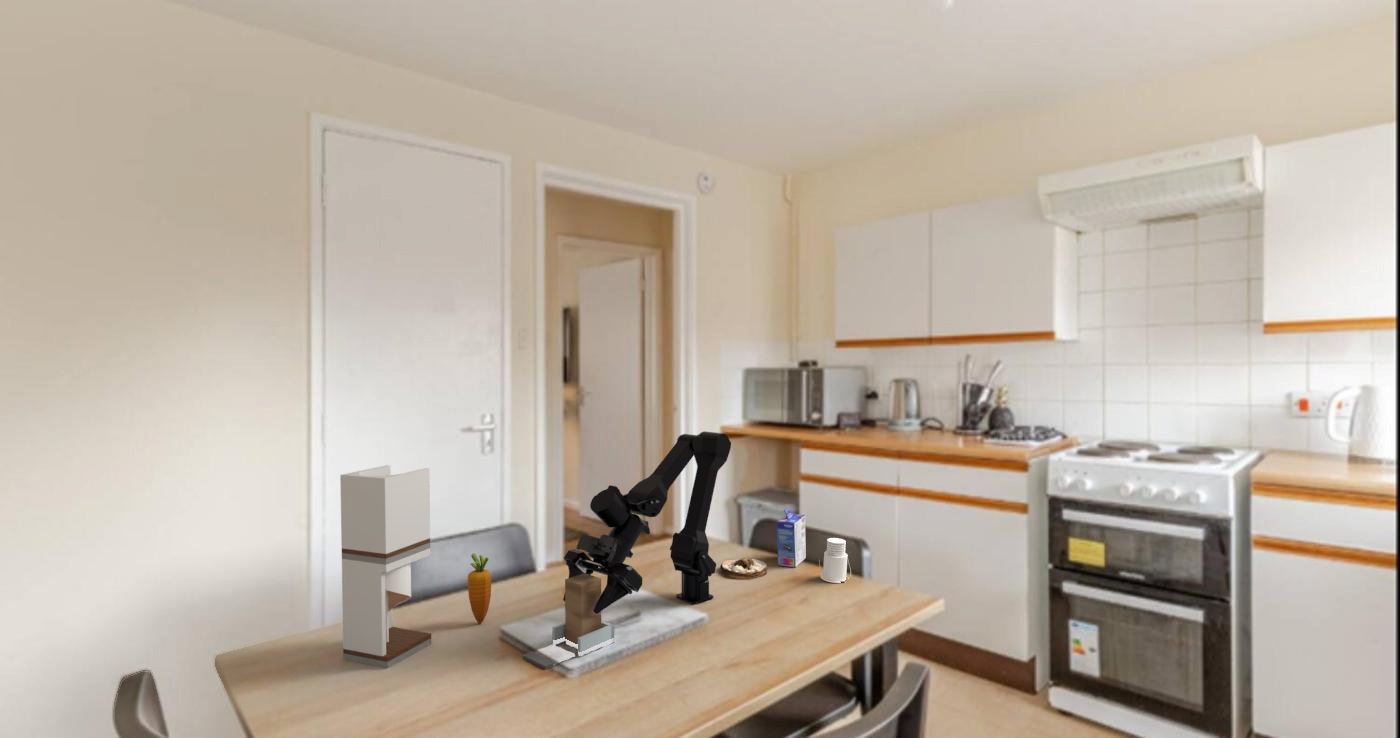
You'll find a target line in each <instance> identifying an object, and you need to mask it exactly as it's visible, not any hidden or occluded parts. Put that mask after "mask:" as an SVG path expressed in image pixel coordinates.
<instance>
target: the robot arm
mask: <svg viewBox="0 0 1400 738" xmlns="http://www.w3.org/2000/svg"><path fill="white" fill-rule="evenodd" d="M731 447H732V441H731V440H730V437H729V436H728V435H727V434H726V433H722V432H713V431H712V432H711V431H701V432H700V433H698V434H697V435H696V434H687V433H683V434H681V435H679V436H678V437H677V439H676V443H675V444H674V445H673V447H672V448H671V449H670V450H669V452H668V453H667V454H666V455H665V457H664V458H663V460H662V461H660V463H659V465H657V467H656V468H655V470H654V471H653V472H652V474H650V475H649V476H648V477H645V478H644V479H642V480H641V481H638V482H637V483H636V484H635V485H634V486H633V487H632V488H631V489H630V490H629V491H628V492H627V493H625V494H622V492H621V491H620V489H619V488H618V486H616V485H612V484H611V485H608V487H607V489H604V490H601V491H599V492H598V493H597V494H596V495H594V496H592V497H593V498H592V499H591V500H590V506H589V507H590V510H591V511H592V512H593V513H594V514H595V515H596V517H598V519H599V520H600V521H601V522H602V523H603V524H604V525H605V526H607V528H611V529H610V530H609V533H608V534H602V535H600V537H596V536H592V535H588V534H585V533H580V534H579V535H580V536H579V538H578V540H577V544H576V547H575V549H574V548H572V549H569V550H568V551H567V553H566V554H565V555H564V557H563V560H564V561H565V565H566V566H567V567H568V578H571V577H574V576H577V575H581V574H584V573H586V574H589V575H593V573H594V572H596V573H598V574H602V575H605V576H607V579H606V586H605V587H604V589H603V591H602V592H601V596H600V598H599V600H598V602H597V603H596V606H595V608H594V610H593V611H594V613H596V614H598V613H600V612H601V613H602V612H603V611H604V610H605V609H607V608H608V607H610V606H611V605H612V604H614V603H616V602H617V601H619V600H620V599H622V598H624V597H625V596H627V595H632V594H633V591H634V592H636V593H639V591H640V589H641V588H642V585H643V577H642V575H641V574H640V573H639V572H638V571H637V570H635V568H634V567H633V566H632V565H630V564H626V563H625V561H626V558H632V557H633V556H634V553H633V552H632V549H633V547H634V546H635V544H636V543H637V541H638V539H639V537H640V536H641V534H645V535H648V536H649V535H650V534H651V529H650V527H649V520H648V521H647V520H643V519H642V518H641V517H640V516H643V517H648V518H656V517H657V516H659V514H660V513H661V511H662V510H663V508H664V507H665V505H666V503H667V501H668V492H669V489H670V488H671V487H672V485H673V484H674V483H675V481H676V479H677V478H678V477H679V476H680V475H681V473H682V472H683V470H684V469H685V468H686V467H687V465H688V464H689V463H690V461H691V460H692V458H693V457H694V460H695V463H696V466H697V467H696V473H695V477H694V481H693V486H692V489H691V494H690V500H689V502H688V503H689V504H688V508H687V513H686V518H685V522H684V527H683V528H682V529H681V530H680V531H679V532H674V533H673V535H672V541H671V545H670V547H669V551H670V559H671V561H672V563H673V567H674V570H675V571H677V572H678V571H679V572H681V576H680V577H681V592H680V593H677V594H676V595H675V597H676V598H678V599H680V600H682V601H685V602H687V603H690V605H691V604H692V605H694V604H698V603H702V602H705V601H708V600H711V599H714V595H713V594H710V580H709V577H711V576H712V575H713V574H715V573H716V569H717V563H716V562H715V561H714V559H713V558H712V557H711V556H710V555H709V549H710V543H709V541H708V537H707V532H706V530H707V525H708V519H709V515H710V510H711V506H712V500H713V495H714V491H715V486H716V482H717V477H718V473H719V471H720V470H721V468H722V467H723V466H724V465H725V463H726V462H727V461H728V457H729V455H730V451H731ZM585 552H586V553H587V554H586V553H585ZM562 601H563V602H565V593H564V594H563V599H562Z"/></svg>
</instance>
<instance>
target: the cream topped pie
mask: <svg viewBox="0 0 1400 738" xmlns="http://www.w3.org/2000/svg"><path fill="white" fill-rule="evenodd" d="M768 568H769V567H768V564H767V563H765V562H764V561H763V560H759V559H756V558H748V557H744V558H732V559H731V558H730V559H725V560H723V561H722V562H721V564H720V567H719V569H720V571H721V573H722V574H723V575H722V577H727V578H729V579H734V580H735V579H737V580H748V581H749V580H752V579H758V578H762V577H764V576H765V577H766V575H767V573H768Z"/></svg>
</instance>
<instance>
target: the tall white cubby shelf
mask: <svg viewBox="0 0 1400 738" xmlns="http://www.w3.org/2000/svg"><path fill="white" fill-rule="evenodd" d="M339 477H340V517H341V518H340V527H341V529H340V532H341V535H340V536H341V537H340V539H341V540H340V541H341V543H340V544H341V587H342V588H341V590H342V591H341V593H342V594H341V595H342V596H341V597H342V603H341V604H342V644H343V645H342V647H343V648H342V651H343V654H342V655H343V657H342V658H343V660H344V661H350V662H354V663H360V664H364V665H365V664H366V665H370V666H375V667H379V668H383V669H389V668H390V667H391V668H392V667H393V666H394V665H396V664H399V662H402V661H403V660H405V659H407V658H409V657H410V656H413V655H414V654H416V653H418V652H419V651H421V650H423V649H425V648H427V647H428V646H429V645H431V644H432V633H430V632H425V631H419V630H415V629H414V630H413V629H408V628H404V627H403V628H402V627H397V626H394V623H393V621H394V620H393V616H394V615H393V608H396V607H398V606H399V605H401V604H403V603H405V602H407V601H409V600H410V599H412V569H411V567H412V565H411V563H413V562H416V561H419V560H421V559H424V558H426V557H429V556H431V511H430V510H431V505H430V504H431V501H430V500H431V499H430V498H431V497H430V496H431V495H430V468H428V467H425V468H420V469H416V470H412V471H407V472H403V473H397V474H396V473H395V474H391V465H388V464H386V465H382V466H381V465H380V466H376V467H373V468H372V467H371V468H367V469H363V470H357V471H352V472H348V473H343V474H340V476H339Z"/></svg>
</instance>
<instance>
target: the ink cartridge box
mask: <svg viewBox="0 0 1400 738" xmlns="http://www.w3.org/2000/svg"><path fill="white" fill-rule="evenodd" d="M783 512H784V514H785V515H784V516H783V517H781V518H780V519H779V520H777V521H776V535H777V538H776V539H777V541H776V542H777V565H778V566H780V567H781V566H783V567H790V568H796V567H798V566H799V565H800V564H801V563H802V562H803V561H804V560H805V559H806V558H807V557H806V556H807V554H806V553H807V552H806V550H807V549H806V545H807V544H806V516H805V514H798V513H792V512H791V510H790V508H789V507H786V508H785V509H784V510H783Z"/></svg>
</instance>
